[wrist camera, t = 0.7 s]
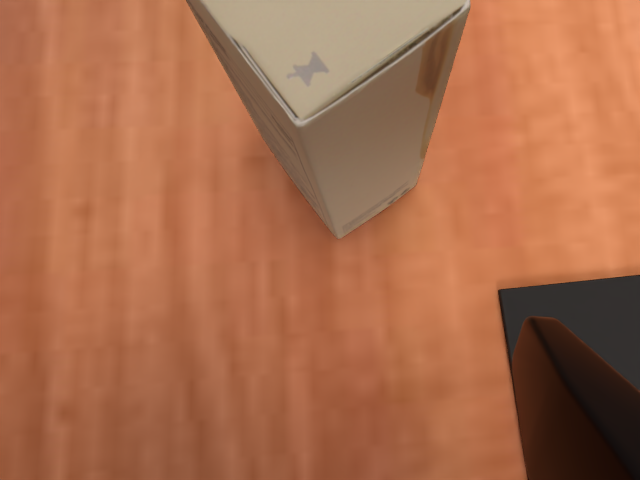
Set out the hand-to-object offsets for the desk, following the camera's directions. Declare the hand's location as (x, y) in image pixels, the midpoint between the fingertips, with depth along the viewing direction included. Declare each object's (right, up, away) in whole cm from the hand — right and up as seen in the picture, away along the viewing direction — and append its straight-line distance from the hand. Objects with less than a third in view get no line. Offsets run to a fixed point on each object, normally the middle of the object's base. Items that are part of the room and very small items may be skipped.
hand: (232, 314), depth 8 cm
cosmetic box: (+2, +5, +14) cm, 15 cm away
